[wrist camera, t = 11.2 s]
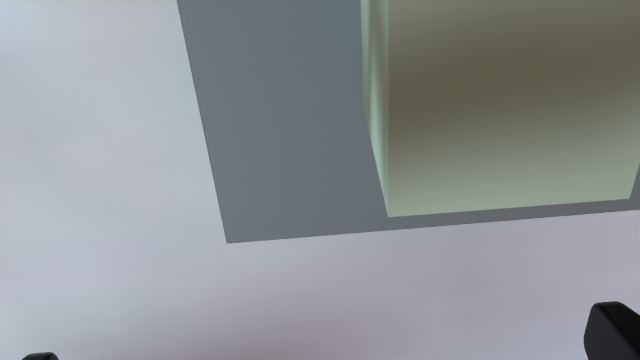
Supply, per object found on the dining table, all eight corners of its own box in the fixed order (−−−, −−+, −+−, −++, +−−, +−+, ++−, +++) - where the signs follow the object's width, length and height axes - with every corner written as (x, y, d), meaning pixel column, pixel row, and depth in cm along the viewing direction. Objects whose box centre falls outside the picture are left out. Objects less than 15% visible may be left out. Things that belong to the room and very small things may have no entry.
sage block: (543, 91, 16) (629, 198, 12) (362, 105, 16) (388, 217, 12) (576, -107, 14) (702, -55, 9) (358, -90, 14) (388, -30, 9)
